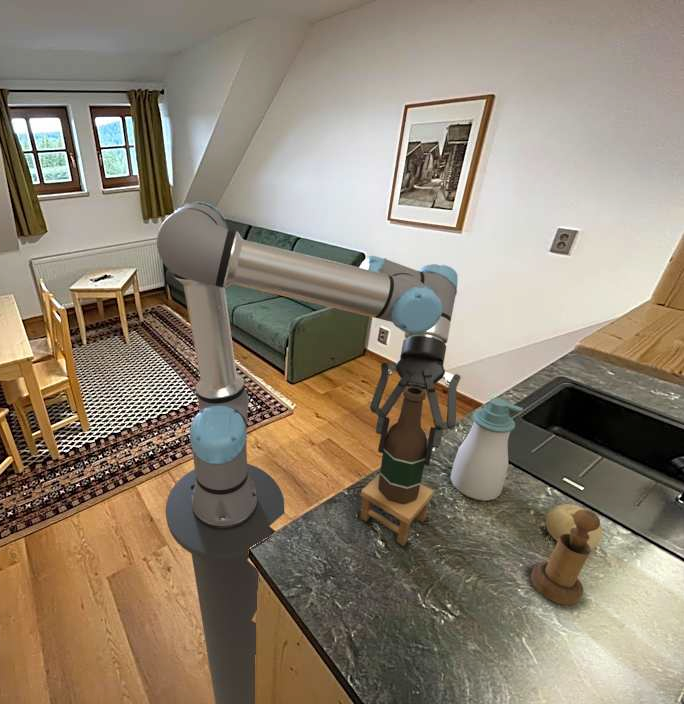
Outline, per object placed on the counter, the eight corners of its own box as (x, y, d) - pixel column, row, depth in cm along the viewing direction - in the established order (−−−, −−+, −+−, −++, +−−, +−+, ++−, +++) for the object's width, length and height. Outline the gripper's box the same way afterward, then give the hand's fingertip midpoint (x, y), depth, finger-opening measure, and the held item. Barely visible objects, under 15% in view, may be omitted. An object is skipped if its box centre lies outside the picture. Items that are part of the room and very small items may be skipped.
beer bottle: (369, 490, 81) (382, 391, 70) (389, 470, 85) (404, 374, 75) (406, 512, 76) (427, 408, 65) (426, 490, 80) (448, 389, 69)
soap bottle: (491, 510, 84) (520, 423, 74) (442, 486, 91) (462, 403, 80) (506, 485, 89) (535, 400, 79) (458, 464, 96) (479, 383, 86)
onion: (609, 560, 72) (603, 539, 69) (553, 554, 77) (544, 534, 74) (600, 519, 77) (593, 498, 74) (547, 515, 82) (538, 496, 79)
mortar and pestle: (572, 577, 70) (610, 504, 62) (584, 612, 65) (627, 537, 57) (526, 564, 73) (556, 492, 65) (534, 597, 68) (568, 523, 60)
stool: (358, 518, 85) (361, 490, 81) (382, 492, 90) (386, 465, 87) (404, 548, 78) (409, 519, 74) (427, 518, 83) (434, 490, 80)
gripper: (482, 356, 76) (463, 476, 71) (372, 341, 86) (349, 445, 81) (489, 342, 70) (469, 473, 65) (369, 327, 79) (344, 440, 74)
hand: (403, 457), depth 73 cm, fingers closed on beer bottle, 7 cm apart
